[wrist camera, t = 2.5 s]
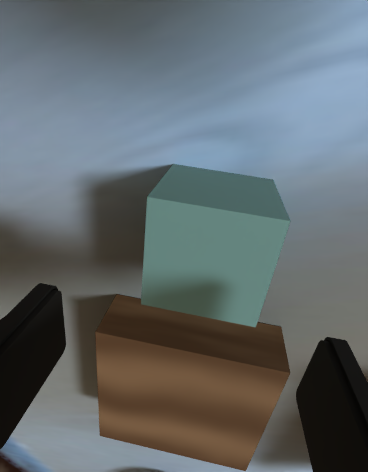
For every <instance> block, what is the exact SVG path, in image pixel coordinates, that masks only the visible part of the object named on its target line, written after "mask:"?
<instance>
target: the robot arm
mask: <svg viewBox="0 0 368 472" xmlns="http://www.w3.org/2000/svg"><path fill="white" fill-rule="evenodd" d="M65 347H66V338H65V327H64V316H63V305H62V294H61V292H60V291H58V289H57V287H56V286H52V285H47V284H42V283H40V284H38V285H37V286H36V287H35V288H34V289H33V290H32V291H31V292H30V293H29V294H28V295H27V296H26V297H25V298H24V299H23V300H22V301H21V302H19V303H18V304H17V305H16V306H15V307H14V308H13V309H12V310H11V311H10V312H9V313H8V314H7V315H6V316H5V317H4V318H2V319H1V320H0V449H1V448H2V447H3V446H4V445H5V443H6V442H7V440H8V439H9V437H10V435H11V434H12V432H13V431H14V429H15V428H16V426H17V424H18V423H19V421H20V420H21V418H22V417H23V415H24V413H25V412H26V410H27V409H28V407H29V406H30V404H31V403H32V401H33V399H34V398H35V396H36V395H37V393H38V392H39V390H40V388H41V387H42V385H43V384H44V382H45V381H46V379H47V377H48V376H49V374H50V373H51V371H52V370H53V368H54V367H55V365H56V363H57V362H58V360H59V359H60V357H61V356H62V354H63V352H64V350H65ZM296 400H297V405H298V409H299V413H300V418H301V422H302V426H303V431H304V435H305V439H306V443H307V448H308V452H309V456H310V461H311V465H312V469H313V472H368V383H367V381H366V379H365V377H364V375H363V373H362V371H361V369H360V367H359V365H358V363H357V361H356V358H355V356H354V354H353V352H352V350H351V348H350V346H349V344H348V343H347V341H345V340H341V339H336V338H330V337H327V338H325V340H324V341H323V340H321V341H320V342H319V343H318V345H317V348H316V350H315V352H314V354H313V356H312V358H311V361H310V363H309V365H308V367H307V369H306V371H305V373H304V376H303V378H302V380H301V382H300V384H299V386H298V389H297V392H296Z"/></svg>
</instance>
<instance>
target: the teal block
mask: <svg viewBox="0 0 368 472" xmlns="http://www.w3.org/2000/svg"><path fill="white" fill-rule="evenodd" d="M289 224H290V219H289V216H288V214H287V212H286V209H285V207H284V205H283V202H282V200H281V197H280V195H279V193H278V190H277V188H276V185H275V183H274V181H273V180H272V179H265V178H259V177H253V176H246V175H240V174H234V173H227V172H221V171H215V170H208V169H202V168H196V167H189V166H183V165H177V164H173V165H172V166H171V168H170V169H169V170H168V171H167V173H166V174H165V175H164V176H163V178H162V179H161V180H160V181H159V183H158V184H157V185H156V186H155V188H154V189H153V190H152V192H151V193H150V194H149V195H148V197H147V209H146V226H145V243H144V260H143V278H142V295H141V304H142V305H147V306H152V307H157V308H162V309H167V310H172V311H177V312H182V313H187V314H192V315H197V316H202V317H207V318H212V319H217V320H222V321H227V322H231V323H236V324H241V325H246V326H251V327H256V325H257V322H258V319H259V316H260V313H261V310H262V307H263V304H264V300H265V297H266V294H267V291H268V288H269V285H270V282H271V279H272V276H273V273H274V270H275V267H276V264H277V261H278V258H279V255H280V252H281V249H282V246H283V243H284V239H285V236H286V233H287V230H288V227H289Z"/></svg>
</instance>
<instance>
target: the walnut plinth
mask: <svg viewBox="0 0 368 472" xmlns="http://www.w3.org/2000/svg"><path fill="white" fill-rule="evenodd" d="M95 336H96V359H97V381H98V404H99V427H100V436H103V437H107V438H111V439H115V440H119V441H123V442H128V443H132V444H136V445H140V446H144V447H148V448H152V449H157V450H161V451H165V452H169V453H173V454H177V455H181V456H185V457H190V458H194V459H198V460H202V461H206V462H210V463H214V464H219V465H223V466H227V467H231V468H235V469H239V470H243V471H246V469H247V467H248V465H249V462H250V460H251V458H252V456H253V454H254V452H255V449H256V447H257V445H258V443H259V441H260V438H261V436H262V434H263V432H264V430H265V427H266V425H267V423H268V421H269V419H270V416H271V414H272V412H273V410H274V408H275V406H276V403H277V401H278V399H279V397H280V395H281V392H282V390H283V388H284V386H285V384H286V381H287V379H288V377H289V375H290V369H289V364H288V359H287V354H286V349H285V344H284V339H283V334H282V329H281V327H279V326H274V325H269V324H264V323H259V322H257V325H256V327H251V326H246V325H241V324H236V323H231V322H227V321H222V320H217V319H212V318H207V317H202V316H197V315H192V314H187V313H182V312H177V311H172V310H167V309H162V308H157V307H152V306H147V305H142V304H141V299H138V298H133V297H128V296H123V295H118V294H117V295H116V296H115V298H114V300H113V302H112V303H111V305H110V307H109V309H108V310H107V312H106V314H105V316H104V317H103V319H102V321H101V323H100V325H99V326H98V328H97V330H96V332H95Z"/></svg>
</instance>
